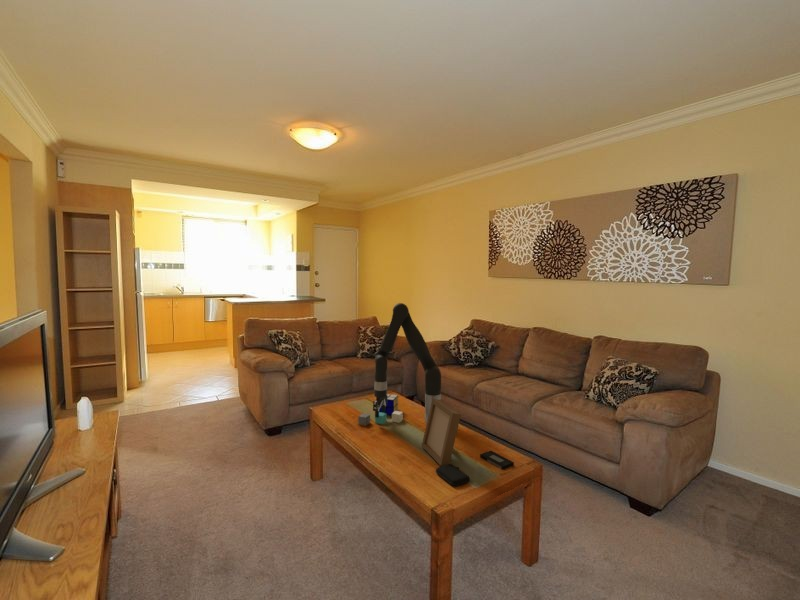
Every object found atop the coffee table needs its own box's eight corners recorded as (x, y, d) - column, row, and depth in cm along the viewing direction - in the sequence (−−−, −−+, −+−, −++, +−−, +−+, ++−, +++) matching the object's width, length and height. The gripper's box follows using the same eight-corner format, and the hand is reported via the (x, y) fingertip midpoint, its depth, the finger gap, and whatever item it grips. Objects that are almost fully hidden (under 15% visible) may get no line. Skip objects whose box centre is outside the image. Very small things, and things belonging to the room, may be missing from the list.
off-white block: (402, 419, 239) (402, 411, 238) (399, 422, 234) (399, 414, 234) (395, 418, 241) (395, 410, 240) (391, 421, 236) (391, 413, 236)
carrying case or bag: (473, 482, 169) (453, 467, 182) (474, 475, 169) (453, 461, 181) (453, 489, 164) (433, 473, 177) (453, 482, 163) (433, 466, 176)
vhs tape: (502, 471, 179) (502, 466, 179) (479, 458, 191) (479, 454, 191) (513, 466, 183) (513, 462, 183) (490, 454, 195) (491, 450, 195)
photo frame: (440, 467, 181) (441, 414, 179) (421, 447, 201) (422, 399, 199) (469, 462, 186) (470, 410, 184) (447, 443, 206) (448, 396, 204)
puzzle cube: (378, 414, 248) (378, 398, 248) (383, 408, 258) (383, 393, 257) (393, 415, 245) (393, 399, 245) (398, 410, 255) (398, 395, 254)
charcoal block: (369, 422, 234) (369, 414, 234) (365, 425, 229) (365, 417, 229) (362, 421, 236) (362, 413, 236) (358, 424, 231) (358, 416, 231)
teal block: (386, 421, 236) (386, 413, 236) (382, 424, 232) (382, 416, 231) (379, 420, 238) (379, 412, 238) (375, 423, 234) (375, 414, 233)
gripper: (380, 392, 226) (380, 420, 227) (391, 385, 239) (391, 412, 240) (369, 390, 229) (368, 417, 230) (380, 384, 242) (380, 410, 243)
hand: (380, 414), depth 235 cm, fingers open, 8 cm apart
